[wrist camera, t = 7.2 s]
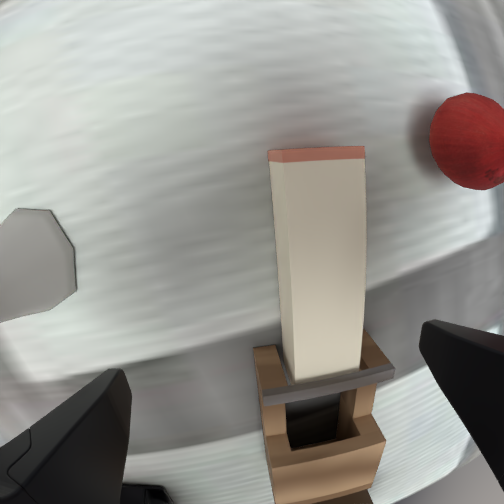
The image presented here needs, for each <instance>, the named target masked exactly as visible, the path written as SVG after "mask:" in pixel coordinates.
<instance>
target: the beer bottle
mask: <svg viewBox="0 0 504 504" xmlns="http://www.w3.org/2000/svg"><path fill="white" fill-rule="evenodd" d="M312 504H373V502H372V500H371V497H370V495H369V493H368V490H367V489H365V490H362V491H359V492H355V493H352V494H348V495H345V496H341V497H337V498H333V499H329V500H325V501H321V502H316V503H312Z"/></svg>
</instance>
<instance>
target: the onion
mask: <svg viewBox="0 0 504 504" xmlns="http://www.w3.org/2000/svg"><path fill="white" fill-rule="evenodd" d="M429 142H430V147H431V152H432V156H433V158H434V159H435V161H436V163H437V165H438V167H439V168H440V169H441V171H442V172H443V173H444V174H445V175H446V176H447V177H448V178H450V179H451V180H452V181H453V182H454V183H456V184H458V185H460V186H462V187H466V188H470V189H475V190H487V189H490V188H493V187H495V186H497V185H499V184H501V183H503V182H504V109H503V108H502V107H501V106H500V105H499V104H498V103H497V102H496V101H494V100H493V99H490V98H487V97H485V96H482V95H478V94H475V93H464V94H460V95H457V96H454V97H450V98H447V99H446V101H445V102H444V103H443V104H442V105H441V106H440V107H439V108H438V110H437V111H436V112H435V115H434V117H433V120H432V123H431V125H430V137H429Z"/></svg>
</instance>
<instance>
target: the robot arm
mask: <svg viewBox="0 0 504 504" xmlns="http://www.w3.org/2000/svg"><path fill="white" fill-rule="evenodd" d="M419 349H420V352H421V354H422V356H423V358H424V360H425V361H426V363H427V365H428V367H429V369H430V371H431V372H432V374H433V376H434V378H435V380H436V382H437V384H438V385H439V387H440V389H441V390H442V392H443V393H444V395H445V396H446V398H447V399H448V401H449V402H450V404H451V405H452V407H453V408H454V410H455V411H456V413H457V414H458V416H459V418H460V419H461V421H462V422H463V424H464V425H465V427H466V428H467V430H468V432H469V433H470V435H471V436H472V438H473V440H474V441H475V443H476V445H477V446H478V448H479V450H480V451H481V453H482V455H483V456H484V458H485V459H486V461H487V463H488V464H489V466H490V468H491V470H492V471H493V473H494V475H495V477H496V479H497V480H498V482H499V484H500V486H501V487H502V489H503V491H504V336H502V335H498V334H494V333H489V332H485V331H481V330H477V329H473V328H469V327H465V326H460V325H456V324H452V323H448V322H444V321H440V320H436V319H433V320H430V321H426V322H424V323H423V325H422V330H421V336H420V342H419ZM131 404H132V393H131V390H130V387H129V384H128V381H127V379H126V376H125V373H124V371H123V370H122V369H121V368H114V369H108V370H106V371H105V372H104V373H102V374H101V375H99V376H98V377H97V378H95V379H94V380H93V381H91V382H90V383H89V384H87V385H86V386H85V387H83V388H82V389H81V390H79V391H78V392H77V393H75V394H74V395H73V396H71V397H70V398H69V399H67V400H66V401H64V402H63V403H62V404H60V405H59V406H58V407H56V408H55V409H54V410H52V411H51V412H50V413H48V414H47V415H46V416H44V417H43V418H41V419H40V420H39V421H37V422H36V423H35V424H33V425H32V426H31V427H30V429H29V428H28V429H26V430H25V431H24V432H22V433H21V434H20V435H18V436H17V437H15V438H14V439H13V440H11V441H10V442H8V443H7V444H5V445H4V446H2V447H0V504H174V503H173V501H172V500H171V498H170V497H169V495H168V493H167V492H166V490H165V489H164V488H163V487H160V486H136V485H122V480H123V474H124V468H125V462H126V456H127V450H128V444H129V434H130V417H131Z"/></svg>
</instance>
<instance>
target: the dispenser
mask: <svg viewBox="0 0 504 504" xmlns="http://www.w3.org/2000/svg"><path fill="white" fill-rule="evenodd" d="M253 350H254V359H255V368H256V376H257V385H258V394H259V402H260V411H261V419H262V427H263V436H264V444H265V452H266V460H267V465H268V470H269V475H270V481H271V486H272V491H273V496H274V501H275V504H312V503H316V502H321V501H325V500H329V499H333V498H337V497H341V496H345V495H348V494H352V493H355V492H359V491H362V490H365V489H368V488H371V485H372V483H373V480H374V477H375V474H376V472H377V469H378V466H379V463H380V460H381V457H382V453H383V450H384V447H385V444H386V439H385V437H384V436H383V434H382V432H381V430H380V428H379V427H378V425H377V423H376V421H375V420H374V418H373V416H372V414H371V412H372V407H373V402H374V396H375V391H376V385H377V383H379V382H382V381H386V380H389V379H393V377H394V372H395V368H394V366H393V365H392V364H391V362H390V361H389V360H388V358H387V357H386V356H385V355H384V353H383V352H382V351H381V350H380V348H379V347H378V346H377V344H376V343H375V342H374V341H373V339H372V338H371V337H370V336H369V334H368V333H367V332H366V331H365V329H363V333H362V345H361V356H360V366H359V371H358V372H353V373H349V374H345V375H340V376H336V377H331V378H326V379H321V380H316V381H311V382H306V383H301V384H295V385H289V386H288V384H287V381H286V378H285V375H284V371H283V368H282V365H281V362H280V359H279V355H278V352H277V349H276V346H275V345H270V346H263V347H256V348H253ZM339 392H341V394H340V405H339V414H338V423H337V432H336V439H332V440H328V441H324V442H319V443H314V444H310V445H305V446H300V447H294V448H290V445H289V441H288V437H287V433H286V411H285V403H289V402H295V401H300V400H306V399H311V398H316V397H321V396H325V395H330V394H334V393H339Z"/></svg>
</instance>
